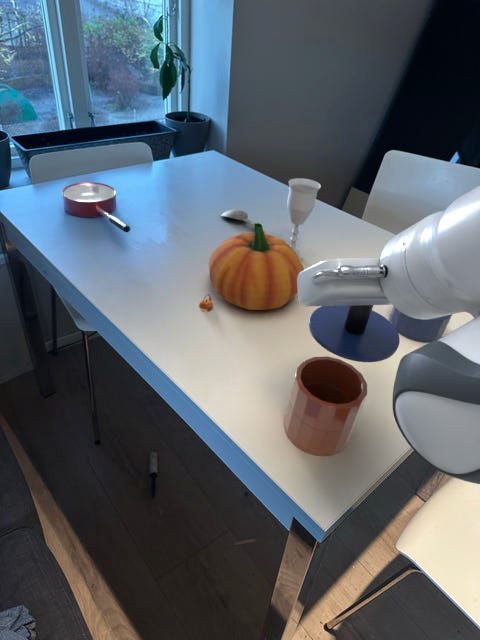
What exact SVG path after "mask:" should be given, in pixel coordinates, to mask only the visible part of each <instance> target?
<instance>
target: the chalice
mask: <svg viewBox="0 0 480 640" xmlns="http://www.w3.org/2000/svg"><path fill="white" fill-rule="evenodd" d="M321 186H322V185H321V184H320V183H319V182H318V181H315V180H313V179H309V178H302V177H301V178H299V177H296V178H291V179H289V180H288V187H289V189H288V195H287V201H286V205H287V206H286V207H287V212H288V215H289V219H290V222H291V223H292V224H294V225H293V229H292V230H291V232H292V236H291V237H290V238H289V239H290V245H289V246H290V247H291V248H292V249H293V250H294V251H295V252H296V254H297V255H298V257H299V259H300V261H302V258H301V253H300V250H299V248H298V247H297V246H296V242H297V241H298V240H299V239H298V237H297V236H298V234H299V233H300V231H299V226H300V225H304V223H305V222H306V221H307V219H308V218H309V217H310V216H311V214H312V212H313V210H314V209H315V204H316V200H317V196H318V192H319V190H320V189H321Z"/></svg>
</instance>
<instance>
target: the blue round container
mask: <svg viewBox="0 0 480 640" xmlns="http://www.w3.org/2000/svg"><path fill="white" fill-rule="evenodd" d="M452 317H453V314H452V315H447V316H443V317H438V318H434V319H426V320H424V319H416V318H412V317H410V316H407V315H405V314H403V313H402V312H400V311H399V310H398V309H396V308H395V307H394V306H393V305H392V309H391V312H390V315H389V321H390V322H391V323H392V324H393V326H394V327H395V328H396V330H397V332H398V334H399V335H401V336H403V337H404V338H407V339H409V340H411V341H415V342H419V343H430V342H432V341H435V340H439V339H441V338H442V337H443V334H444V333H445V331H446V329H447V327H448V325H449V322H450V321H451V319H452Z"/></svg>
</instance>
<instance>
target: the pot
mask: <svg viewBox="0 0 480 640" xmlns="http://www.w3.org/2000/svg"><path fill="white" fill-rule="evenodd" d="M367 396H368V383H367V381H366V380H365V377H364V376H363V374H362V373H361V372H360V371H359V370H358V369H357V368H356V367H355V366H353V365H352V364H350V363H348V362H346V361H344V360H342V359H340V358H336V357H331V356H327V355H325V356H313V357H311V358H310V357H309V358H308V359H305V360H303V361H302V363H300V364H299V365H298V367H297V368H296V371H295V374H294V378H293V383H292V386H291V391H290V394H289V400H288V403H287V407H286V412H285V416H284V422H283V426H284V431H285V434H286V436H287V438H288V439H289V441H290V442H291V443H292V444H293V445H294V446H295V447H296V448H297V449H299V450H301V451H303V452H304V453H307V454H309V455H313V456H316V457H317V456H318V457H329V456H333V455H337V454H338V453H340V452H341V451H343V450H344V449H345V448H346V447H347V444H348V442H349V441H350V439H351V436H352V434H353V431H354V428H355V426H356V424H357V421H358V418H359V416H360V414H361V411H362V408H363V406H364V403H365V401H366V398H367Z"/></svg>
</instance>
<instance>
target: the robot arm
mask: <svg viewBox="0 0 480 640" xmlns="http://www.w3.org/2000/svg"><path fill="white" fill-rule="evenodd" d="M297 290H298V292H297V297H298V302H299V304H300V305H301V306H303V307H321V306H354V305H373V306H392V307H393V306H394V307H395V308H396V309H398V310H399V311H400V312H402V313H403V314H405V315H407V316H410V317H412V318H416V319H424V320H426V319H434V318H438V317H443V316H447V315H452V316H453V315H455V314H460V313H467V314H469V315H471V316H472V317H473V318H472V319H470V320H469V321H467V322H466V323H464V324H462V325H461V326H459V327H457V328H456V329H454V330H452V331H451V332H449V333H447V334H446V335H444V336H442V337H441V338H440V339H439V340H435V341H432V342H427V344H424V345H422V346H420V347H418V348H416V349H414V350H412V351H410V352H408V353H406V354H404V355H403V356H402V357H401V358H400V360H399V363H398V366H397V370H396V374H395V377H394V382H393V387H392V403H391V404H392V414H393V417H394V421H395V423H396V426H397V428H398V430H399V432H400V433H401V435H402V438H403V439H404V440H405V441H406V443H407V444H408V445H409V446H410V448H411V449H412V450H413V451H414V452H415V453H416V454H417V455H418V456H419V458H420V459H422V460H423V461H424V462H425V463H426V464H428V465H429V466H431V468H433V469H435V470H437V471H439V472H440V473H442V474H444V475H447V476H449V477H452V478H454V479H457V480H461V481H463V482H468V483H471V484H476V485H480V185H478V186H476V187H474V188H472V189H471V190H469V191H467V192H466V193H464V194H462V195H461V196H459V197H458V198H456V199H455V200H454V201H452V202H451V203H450V204H449V205H448V206H447V208H445V210H441V211H437V212H434V213H431V214H429V215H427V216H425V217H424V218H422V219H421V220H419V221H417V222H416V223H414V224H412V225H411V226H409V227H407V228H405V229H404V230H402V231H400V232H399V233H397V234H395V235H394V236H393V237H392V238H391V239H389V241H388V242H386V244H385V246H384V247H383V249H382V251H381V254H380V257H335V258H328V259H325V260H321V261H319V262H317V263H315V264H313V265H311V266H309V267H307V268H304V270H303V271H301V272H300V273H299V274H298V277H297Z"/></svg>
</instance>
